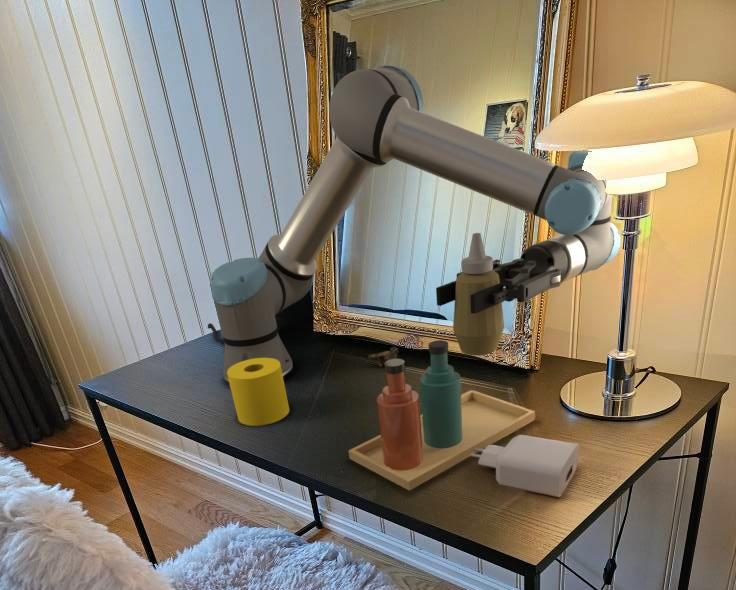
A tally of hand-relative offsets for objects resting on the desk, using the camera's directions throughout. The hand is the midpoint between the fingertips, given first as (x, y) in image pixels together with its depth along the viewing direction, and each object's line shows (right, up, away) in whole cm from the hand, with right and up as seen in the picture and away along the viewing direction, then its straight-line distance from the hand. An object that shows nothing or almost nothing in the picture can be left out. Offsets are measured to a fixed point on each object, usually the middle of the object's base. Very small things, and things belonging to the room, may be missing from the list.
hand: (455, 300), depth 99 cm
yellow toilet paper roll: (-33, -14, +28) cm, 46 cm away
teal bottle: (-1, -20, +10) cm, 23 cm away
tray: (0, -20, +11) cm, 23 cm away
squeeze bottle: (+5, -6, +8) cm, 11 cm away
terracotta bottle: (-8, -24, +6) cm, 26 cm away
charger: (+10, -27, 0) cm, 28 cm away
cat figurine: (-10, -1, +42) cm, 43 cm away
